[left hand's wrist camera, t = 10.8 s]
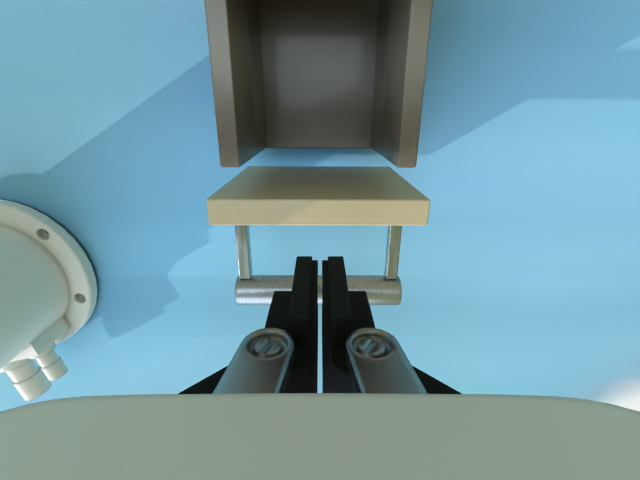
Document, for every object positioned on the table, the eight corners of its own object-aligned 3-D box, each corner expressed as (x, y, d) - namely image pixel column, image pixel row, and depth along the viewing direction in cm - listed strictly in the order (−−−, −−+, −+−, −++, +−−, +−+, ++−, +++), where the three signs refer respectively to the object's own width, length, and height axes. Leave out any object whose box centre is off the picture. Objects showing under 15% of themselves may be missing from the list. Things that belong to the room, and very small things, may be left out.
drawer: (382, 257, 26) (415, 331, 17) (254, 257, 26) (221, 331, 17) (413, -157, 17) (506, -420, 9) (224, -158, 17) (131, -422, 9)
